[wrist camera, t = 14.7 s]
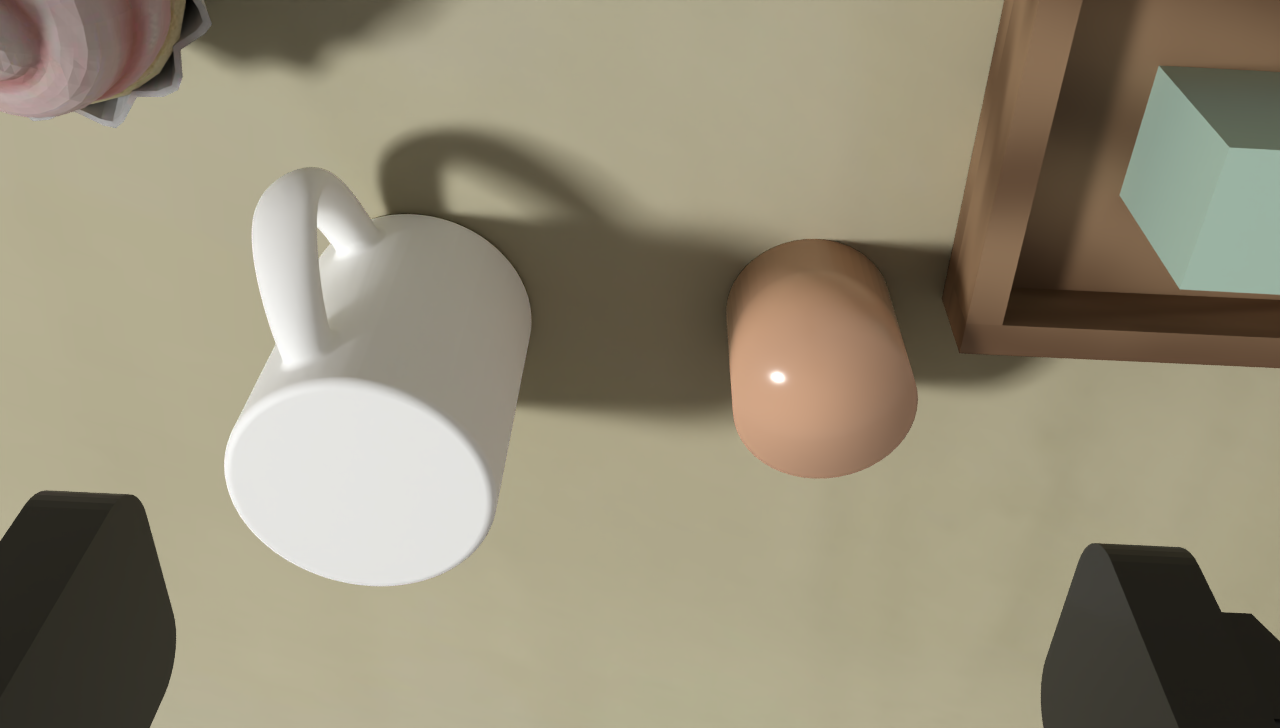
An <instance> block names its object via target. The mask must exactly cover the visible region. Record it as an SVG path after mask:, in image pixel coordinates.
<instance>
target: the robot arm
mask: <svg viewBox="0 0 1280 728" xmlns="http://www.w3.org/2000/svg"><path fill="white" fill-rule="evenodd" d="M175 649H176V627H175V619H174V614H173V611H172V607H171V603H170V600H169V596H168V592H167V589H166V585H165V581H164V578H163V574H162V570H161V567H160V563H159V559H158V555H157V552H156V548H155V544H154V541H153V537H152V533H151V530H150V526H149V522H148V519H147V515H146V512H145V509H144V507H143V505H142V503H141V501H140V500H139V499H138V498H137V497H135V496H134V495H129V494H109V493H88V492H67V491H41V492H39V493H37V494H35V495H34V496H33V497H32V498H30V499H29V501H28V502H27V503H26V504H25V506H24V507H23V508H22V510H21V511H20V513H19V514H18V516H17V517H16V519H15V520H14V522H13V523H12V525H11V526H10V528H9V529H8V531H7V532H6V534H5V535H4V537H3V538H2V540H1V541H0V728H150V726H151V723H152V721H153V719H154V717H155V714H156V712H157V710H158V708H159V706H160V703H161V701H162V699H163V697H164V694H165V692H166V689H167V687H168V684H169V680H170V677H171V673H172V669H173V664H174V658H175ZM1041 711H1042V720H1043V727H1044V728H1280V641H1279V640H1278V639H1277V638H1276V637H1275V636H1274V635H1273V634H1272V633H1271V632H1269V631H1268V630H1267V629H1266V628H1265V627H1264V626H1263V625H1262V624H1261V623H1260V622H1259V621H1258V620H1257V619H1256V618H1255V617H1254V616H1253V615H1252V614H1246V613H1225V612H1221V610H1220V608H1219V606H1218V604H1217V602H1216V600H1215V598H1214V596H1213V594H1212V592H1211V590H1210V588H1209V585H1208V583H1207V581H1206V579H1205V577H1204V575H1203V573H1202V571H1201V569H1200V567H1199V565H1198V563H1197V562H1196V560H1195V558H1194V557H1193V556H1192V554H1191V553H1190V552H1188V551H1187V550H1186V549H1184V548H1181V547H1163V546H1141V545H1120V544H1099V543H1093V544H1090V545H1088V546H1087V547H1086V548H1085V550H1084V551H1083V553H1082V555H1081V557H1080V559H1079V562H1078V565H1077V568H1076V571H1075V574H1074V577H1073V580H1072V583H1071V586H1070V589H1069V592H1068V595H1067V598H1066V601H1065V604H1064V606H1063V609H1062V612H1061V615H1060V618H1059V621H1058V624H1057V627H1056V630H1055V633H1054V636H1053V639H1052V642H1051V645H1050V648H1049V651H1048V654H1047V657H1046V660H1045V664H1044V668H1043V674H1042V682H1041Z"/></svg>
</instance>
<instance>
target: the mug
mask: <svg viewBox="0 0 1280 728" xmlns="http://www.w3.org/2000/svg"><path fill="white" fill-rule="evenodd" d="M317 227H318V228H319V229H320V230H321V232H322V233H323V234H324V235H325V236H326V238H327V239H328V240H329V241H330V243H331V244H330V245H329V246H328V247H327V248H326V249H325V251H324V252H323V253H322V255H321V256H320V258H319V259H318V247H317ZM252 249H253V258H254V265H255V271H256V276H257V281H258V285H259V290H260V294H261V298H262V302H263V305H264V309H265V312H266V316H267V319H268V322H269V325H270V328H271V331H272V334H273V337H274V340H275V342H276V345H275V347H274V348H273V350H272V352H271V354H270V356H269V358H268V360H267V362H266V364H265V366H264V368H263V370H262V372H261V374H260V376H259V378H258V380H257V382H256V384H255V386H254V388H253V390H252V392H251V394H250V396H249V398H248V400H247V402H246V404H245V406H244V408H243V410H242V412H241V414H240V416H239V418H238V420H237V422H236V424H235V426H234V428H233V430H232V432H231V434H230V437H229V440H228V443H227V447H226V452H225V461H224V469H225V478H226V484H227V488H228V491H229V494H230V497H231V499H232V502H233V504H234V506H235V508H236V510H237V511H238V513H239V515H240V516H241V518H242V519H243V521H244V522H245V523H246V525H247V526H248V527H249V528H250V530H251V531H252V532H253V533H254V534H255V535H256V536H257V537H258V538H259V539H260V540H261V541H262V542H263V543H264V544H265V545H267V546H268V547H269V548H270V549H272V550H273V551H274V552H276V553H277V554H279V555H280V556H281V557H283V558H285V559H286V560H288V561H290V562H291V563H293V564H295V565H297V566H299V567H301V568H303V569H305V570H307V571H310V572H312V573H314V574H317V575H320V576H323V577H326V578H329V579H333V580H336V581H341V582H345V583H350V584H357V585H366V586H396V585H405V584H411V583H416V582H420V581H424V580H427V579H430V578H433V577H436V576H438V575H440V574H443V573H445V572H447V571H449V570H450V569H452V568H454V567H456V566H457V565H459V564H460V563H462V562H463V561H464V560H465V559H467V558H468V557H469V556H470V555H471V554H472V553H473V552H474V551H475V550H476V549H477V548H478V547H479V545H480V544H481V543H482V542H483V540H484V538H485V537H486V535H487V534H488V532H489V530H490V527H491V525H492V523H493V520H494V516H495V512H496V507H497V502H498V497H499V492H500V487H501V482H502V477H503V471H504V466H505V461H506V456H507V451H508V446H509V441H510V436H511V431H512V425H513V420H514V415H515V410H516V405H517V400H518V395H519V390H520V385H521V379H522V374H523V369H524V364H525V359H526V354H527V349H528V344H529V338H530V333H531V309H530V303H529V299H528V295H527V292H526V290H525V287H524V285H523V283H522V281H521V279H520V277H519V275H518V274H517V272H516V270H515V269H514V267H513V266H512V265H511V263H510V262H509V261H508V260H507V259H506V257H505V256H504V255H503V254H502V253H501V252H500V251H499V250H498V249H497V248H496V247H494V246H493V245H492V244H491V243H490V242H488V241H487V240H485V239H484V238H483V237H481V236H480V235H478V234H476V233H475V232H473V231H471V230H469V229H467V228H465V227H463V226H461V225H458V224H456V223H453V222H451V221H447V220H444V219H441V218H436V217H432V216H425V215H417V214H397V215H388V216H382V217H378V218H374V219H371V218H370V217H369V215H368V214H367V212H366V211H365V209H364V208H363V206H362V205H361V203H360V202H359V200H358V199H357V198H356V196H355V195H354V194H353V192H352V191H351V190H350V189H349V188H348V186H347V185H346V184H345V183H344V182H343V181H342V180H341V179H339V178H338V177H337V176H336V175H334V174H333V173H331V172H330V171H327V170H325V169H322V168H317V167H307V168H301V169H297V170H294V171H291V172H289V173H287V174H285V175H283V176H282V177H280V178H279V179H277V180H276V181H275V182H273V183H272V184H271V185H270V186H269V187H268V188H267V189H266V191H265V192H264V193H263V195H262V196H261V198H260V200H259V202H258V204H257V206H256V209H255V212H254V217H253V223H252Z"/></svg>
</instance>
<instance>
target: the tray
mask: <svg viewBox="0 0 1280 728" xmlns="http://www.w3.org/2000/svg"><path fill="white" fill-rule="evenodd" d="M1159 66H1177V67H1196V68H1214V69H1233V70H1252V71H1270V72H1280V0H1004V5H1003V9H1002V14H1001V19H1000V24H999V28H998V33H997V38H996V43H995V48H994V52H993V57H992V62H991V67H990V71H989V76H988V81H987V86H986V91H985V95H984V100H983V105H982V110H981V114H980V119H979V124H978V129H977V134H976V138H975V143H974V148H973V153H972V158H971V162H970V167H969V172H968V177H967V181H966V186H965V191H964V196H963V201H962V205H961V210H960V215H959V220H958V224H957V229H956V234H955V239H954V244H953V248H952V253H951V258H950V263H949V267H948V272H947V277H946V282H945V287H944V291H943V296H942V301H943V304H944V307H945V310H946V313H947V316H948V319H949V322H950V325H951V328H952V331H953V334H954V337H955V340H956V344H957V347H958V350H959V353H965V354H986V355H1008V356H1030V357H1051V358H1073V359H1094V360H1116V361H1138V362H1159V363H1181V364H1202V365H1224V366H1245V367H1267V368H1280V295H1275V294H1256V293H1238V292H1220V291H1201V290H1183V289H1179V287H1178V286H1177V284H1176V283H1175V281H1174V280H1173V278H1172V277H1171V275H1170V273H1169V272H1168V270H1167V269H1166V267H1165V266H1164V264H1163V262H1162V261H1161V259H1160V258H1159V256H1158V255H1157V253H1156V252H1155V250H1154V248H1153V247H1152V245H1151V244H1150V242H1149V241H1148V239H1147V237H1146V236H1145V234H1144V233H1143V231H1142V230H1141V228H1140V227H1139V225H1138V223H1137V222H1136V220H1135V219H1134V217H1133V216H1132V214H1131V212H1130V211H1129V209H1128V208H1127V206H1126V205H1125V203H1124V201H1123V200H1122V198H1121V197H1120V192H1121V189H1122V185H1123V182H1124V179H1125V175H1126V172H1127V169H1128V165H1129V162H1130V159H1131V156H1132V152H1133V149H1134V146H1135V142H1136V139H1137V136H1138V132H1139V129H1140V126H1141V123H1142V119H1143V116H1144V113H1145V109H1146V106H1147V103H1148V99H1149V96H1150V93H1151V90H1152V86H1153V83H1154V80H1155V76H1156V73H1157V70H1158V67H1159Z"/></svg>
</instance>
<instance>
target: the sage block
mask: <svg viewBox="0 0 1280 728" xmlns="http://www.w3.org/2000/svg"><path fill="white" fill-rule="evenodd" d="M1120 197H1121V198H1122V200H1123V201H1124V203H1125V205H1126V206H1127V208H1128V209H1129V211H1130V212H1131V214H1132V216H1133V217H1134V219H1135V220H1136V222H1137V223H1138V225H1139V227H1140V228H1141V230H1142V231H1143V233H1144V234H1145V236H1146V237H1147V239H1148V241H1149V242H1150V244H1151V245H1152V247H1153V248H1154V250H1155V252H1156V253H1157V255H1158V256H1159V258H1160V259H1161V261H1162V262H1163V264H1164V266H1165V267H1166V269H1167V270H1168V272H1169V273H1170V275H1171V277H1172V278H1173V280H1174V281H1175V283H1176V284H1177V286H1178V287H1179V289H1183V290H1201V291H1220V292H1238V293H1256V294H1275V295H1280V72H1270V71H1252V70H1233V69H1214V68H1196V67H1177V66H1159V67H1158V70H1157V73H1156V76H1155V80H1154V83H1153V86H1152V90H1151V93H1150V96H1149V99H1148V103H1147V106H1146V109H1145V113H1144V116H1143V119H1142V123H1141V126H1140V129H1139V132H1138V136H1137V139H1136V142H1135V146H1134V149H1133V152H1132V156H1131V159H1130V162H1129V165H1128V169H1127V172H1126V175H1125V179H1124V182H1123V185H1122V189H1121V192H1120Z"/></svg>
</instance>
